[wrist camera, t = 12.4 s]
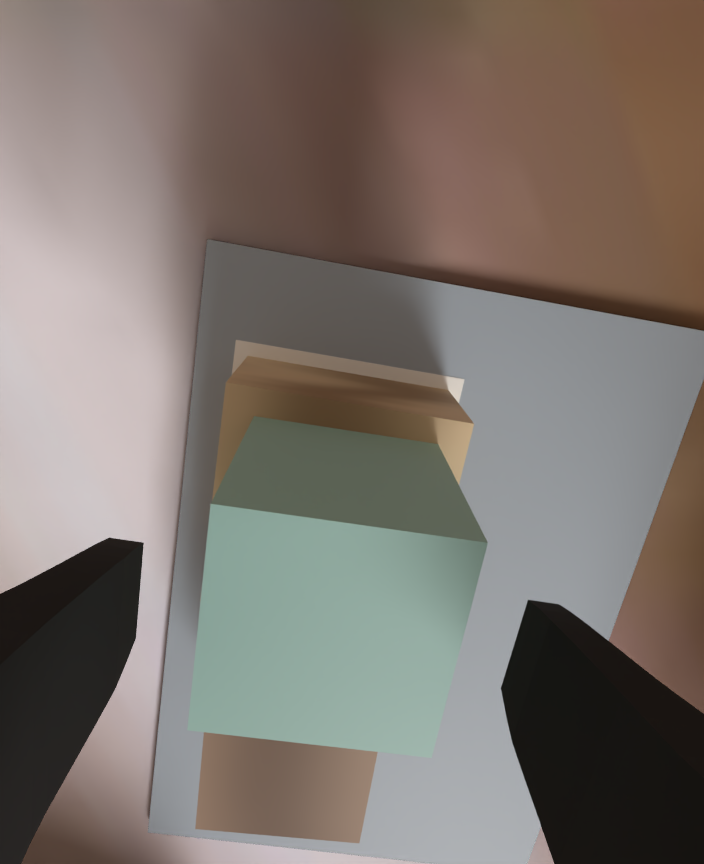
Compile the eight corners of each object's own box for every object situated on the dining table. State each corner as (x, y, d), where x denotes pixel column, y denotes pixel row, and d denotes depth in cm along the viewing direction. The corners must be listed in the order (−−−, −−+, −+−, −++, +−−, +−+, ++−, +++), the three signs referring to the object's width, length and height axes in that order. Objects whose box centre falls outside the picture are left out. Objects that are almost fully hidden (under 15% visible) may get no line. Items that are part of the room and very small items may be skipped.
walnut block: (374, 599, 20) (385, 712, 15) (354, 707, 21) (359, 843, 16) (239, 583, 19) (207, 694, 15) (228, 694, 21) (195, 829, 16)
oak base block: (448, 390, 18) (474, 423, 14) (407, 565, 19) (421, 632, 16) (247, 355, 17) (225, 382, 14) (224, 538, 19) (200, 601, 16)
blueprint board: (711, 332, 18) (720, 334, 17) (520, 863, 24) (523, 874, 24) (210, 239, 16) (206, 239, 16) (151, 822, 23) (147, 833, 23)
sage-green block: (438, 444, 14) (488, 542, 10) (403, 601, 16) (431, 757, 11) (254, 416, 14) (210, 503, 9) (234, 579, 15) (187, 730, 11)
